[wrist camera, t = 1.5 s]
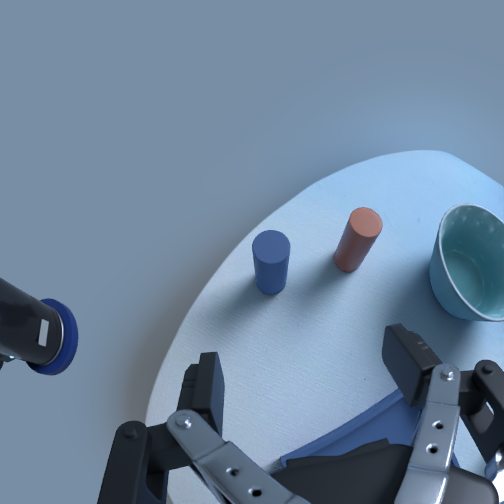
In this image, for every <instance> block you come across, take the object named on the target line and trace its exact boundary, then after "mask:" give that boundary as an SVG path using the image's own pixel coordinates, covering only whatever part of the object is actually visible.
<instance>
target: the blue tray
mask: <svg viewBox="0 0 504 504" xmlns="http://www.w3.org/2000/svg"><path fill="white" fill-rule="evenodd" d="M419 410H420V406H419V405H417V406H414V407H411V408H410V406H409V405H408V403H407V401H406V399H405V398H404V396H403V394H402V393H401V391H400V389H399V388H398V389H397V390H395V391H394V392H393V393H391V394H390V395H388V396H387V397H386V398H384V399H383V400H381V401H380V402H378V403H377V404H375V405H374V406H372V407H371V408H369V409H368V410H366V411H365V412H363V413H361V414H360V415H358V416H357V417H355V418H353V419H352V420H350V421H349V422H347V423H345V424H343V425H342V426H340V427H338V428H337V429H335V430H333V431H331V432H330V433H328V434H326V435H324V436H322V437H320V438H318V439H317V440H315V441H313V442H311V443H309V444H307V445H305V446H303V447H301V448H299V449H297V450H295V451H293V452H291V453H288V454H286V455H284V456H282V457H280V458H281V463H282V465H283V467H285V466H286V460H287V459H294V458H300V457H307V456H339V455H343V454H345V453H347V452H349V451H351V450H353V449H355V448H357V447H359V446H361V445H363V444H366V443H370V442H374V441H377V440H380V439H384V438H387V439H388V441H389V444H404V445H409V442H410V439H411V436H412V433H413V430H414V427H415V423H416V420H417V417H418V413H419ZM450 464H452V465H454V466H457V467H459V468H460V466H459V464H458V461H457V459H456V457H455V454H454V452H453V454H452V458H451V462H450Z"/></svg>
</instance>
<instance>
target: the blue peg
mask: <svg viewBox="0 0 504 504" xmlns="http://www.w3.org/2000/svg"><path fill="white" fill-rule="evenodd" d="M252 251H253V259H254V267H255V275H256V283H257V286H258V288H259V289H260V290H261V291H262V292H263V293H265V294H270V295H272V294H277V293H279V292H280V291H282V290H283V288H284V287H285V284H286V278H287V270H288V263H289V255H290V242H289V240H288V238H287V237H286V236H285V235H284V234H283V233H281V232H279V231H275V230H268V231H264V232H262V233H260V234H259V235H257V237H256V238H255V239H254V241H253V244H252Z"/></svg>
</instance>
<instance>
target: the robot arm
mask: <svg viewBox="0 0 504 504" xmlns="http://www.w3.org/2000/svg"><path fill="white" fill-rule="evenodd" d="M64 342H65V325H64V321H63V319H62V317H61V315H60V313H59V312H58V311H57V310H56V309H55V308H53V307H51V306H49V305H46V304H44V303H43V302H41V301H39V300H37V299H36V298H34V297H32V296H30V295H28V294H27V293H25V292H23V291H22V290H20V289H18V288H16V287H15V286H13V285H12V284H10V283H8V282H7V281H5V280H3V279H2V278H0V369H1V368H2V366H3V362H4V361H5V362H10V361H12V360H14V359H19V360H23V361H26V362H32V363H34V364H37V365H41V366H46V365H49V364H51V363H53V362H54V361H55V360H56V359H57V358H58V357H59V355H60V353H61V351H62V349H63V346H64ZM382 359H383V362H384V364H385V366H386V367H387V369H388V371H389V372H390V374H391V376H392V377H393V379H394V381H395V382H396V384H397V386H398V387H399V389H400V391H401V393H402V394H403V396H404V398H405V399H406V401H407V403H408V405H409V406H410V408H411V407H414V406H417V405H419V406H420V410H419V413H418V417H417V420H416V423H415V427H414V430H413V433H412V436H411V439H410V442H409V445H404V444H389V441H388V439H387V438H384V439H380V440H377V441H374V442H370V443H366V444H363V445H361V446H359V447H357V448H355V449H353V450H351V451H349V452H347V453H345V454H343V455H339V456H307V457H300V458H294V459H287V460H286V466H285V467H283V468H280V469H278V470H276V471H274V472H272V473H270V474H267V473H266V472H265V471H264V470H263V469H262V468H260V467H259V466H258V465H257V464H256V463H255V462H253V461H252V460H251V459H250V458H249V457H248V456H247V455H246V454H244V453H243V452H242V451H241V450H240V449H239V448H238V447H237V446H236V445H235V444H234V443H232V442H231V441H227V442H226V441H224V440H223V439H222V425H223V407H224V390H225V385H224V377H223V372H222V368H221V364H220V360H219V356H218V353H217V352H207V353H201V355H200V360H199V364H191V365H190V366H189V367H188V369H187V370H186V371H185V375H184V379H183V383H182V388H181V392H180V397H179V401H178V406H177V410H176V412H174V413H173V414H172V415H170V416H169V418H168V420H167V422H165V423H163V424H160V425H155V426H151V427H146V426H145V424H143V423H142V422H139V421H129V422H126V423H124V424H122V425H121V426H119V428H118V429H117V431H116V434H115V437H114V441H113V444H112V448H111V451H110V455H109V458H108V462H107V466H106V470H105V473H104V478H103V481H102V485H101V490H100V494H99V498H98V502H97V504H166V497H167V486H168V475H169V470H172V469H177V468H181V467H185V466H189V467H190V468H191V469H192V471H193V472H194V473H195V474H196V475H197V477H198V478H199V479H200V480H201V481H202V482H203V484H204V485H205V486H206V487H207V488H208V489H209V490H210V491H211V493H212V494H213V495H214V496H215V498H216V499H217V500H218V501H219V503H220V504H504V372H503V370H502V369H501V368H500V367H499V366H498V365H497V364H496V363H495V362H493V361H491V360H481V361H479V362H478V363H477V364H476V366H475V368H474V370H470V371H459V369H458V368H457V367H455V366H454V365H451V364H443V363H442V362H441V361H440V359H439V358H438V357H437V356H436V354H435V353H434V352H433V351H432V350H431V348H429V346H428V345H427V344H426V343H425V341H424V340H423V339H422V338H421V337H420V335H418V334H416V333H414V332H413V331H407V329H406V328H405V327H404V326H403V325H402V324H401V323H399V324H394V325H390V326H386V328H385V332H384V340H383V347H382ZM486 402H488V403H489V405H490V406H491V408H492V409H493V412H494V415H493V413H492V412H491V410H490V409H489V407H488V406H487V404H486ZM459 415H460V417H461V419H462V420H463V422H464V424H465V426H466V427H467V429H468V431H469V433H470V435H471V436H472V438H473V440H474V442H475V444H476V445H477V447H478V449H479V451H480V453H481V455H482V457H483V459H484V461H485V462H486V464H487V465H486V467H485V476H486V477H485V478H484V477H482V476H479V475H477V474H474V473H472V472H469V471H467V470H464V469H462V468H459V467H457V466H454V465H452V464H450V462H451V458H452V454H453V449H454V444H455V439H456V434H457V428H458V422H459Z"/></svg>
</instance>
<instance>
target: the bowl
mask: <svg viewBox="0 0 504 504" xmlns="http://www.w3.org/2000/svg"><path fill="white" fill-rule="evenodd" d="M429 275H430V282H431V286H432V289H433V292H434V294H435V296H436V298H437V300H438V301H439V303H440V304H441V305H442V307H443V308H444V309H445V310H446V311H447V312H449V313H450V314H451V315H453V316H455V317H457V318H460V319H466V320H474V321H490V322H499V321H504V223H503V221H502V220H501V219H499V218H498V217H497V216H496V215H495V214H493V213H492V212H491V211H489V210H487V209H485V208H483V207H481V206H478V205H475V204H468V203H465V204H459V205H456V206H453V207H452V208H450V209H449V210H448V211H447V212H446V213H445V215H444V216H443V218H442V220H441V223H440V226H439V230H438V233H437V237H436V241H435V245H434V249H433V254H432V258H431V261H430V268H429Z"/></svg>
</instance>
